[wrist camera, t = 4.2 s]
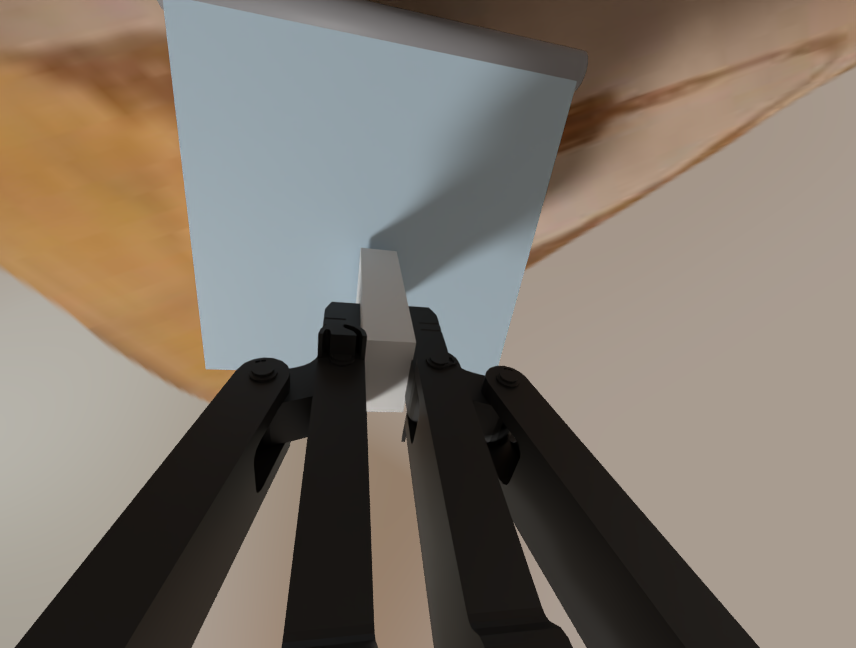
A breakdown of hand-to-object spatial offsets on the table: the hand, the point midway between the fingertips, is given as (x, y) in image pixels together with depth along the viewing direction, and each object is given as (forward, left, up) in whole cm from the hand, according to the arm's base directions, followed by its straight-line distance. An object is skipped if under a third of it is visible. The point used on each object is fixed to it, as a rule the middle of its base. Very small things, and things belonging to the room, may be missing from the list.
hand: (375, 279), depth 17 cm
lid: (-2, 0, -2) cm, 3 cm away
